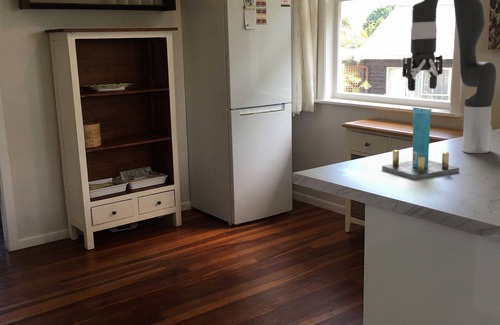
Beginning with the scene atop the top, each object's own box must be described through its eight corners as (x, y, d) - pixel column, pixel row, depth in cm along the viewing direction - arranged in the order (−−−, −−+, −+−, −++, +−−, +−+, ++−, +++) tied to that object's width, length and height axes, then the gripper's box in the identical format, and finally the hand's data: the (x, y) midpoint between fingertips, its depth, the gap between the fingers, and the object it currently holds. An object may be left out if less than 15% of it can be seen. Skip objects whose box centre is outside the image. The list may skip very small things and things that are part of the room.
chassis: (423, 163, 187) (424, 144, 186) (458, 172, 173) (459, 152, 172) (382, 170, 180) (382, 151, 179) (415, 180, 166) (416, 159, 164)
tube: (434, 167, 175) (436, 108, 171) (425, 169, 172) (427, 110, 168) (414, 163, 181) (416, 106, 176) (405, 166, 178) (407, 108, 174)
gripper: (432, 36, 173) (430, 87, 177) (397, 38, 168) (396, 90, 171) (449, 36, 167) (448, 88, 170) (414, 38, 161) (412, 92, 164)
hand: (422, 89), depth 171 cm, fingers open, 8 cm apart
